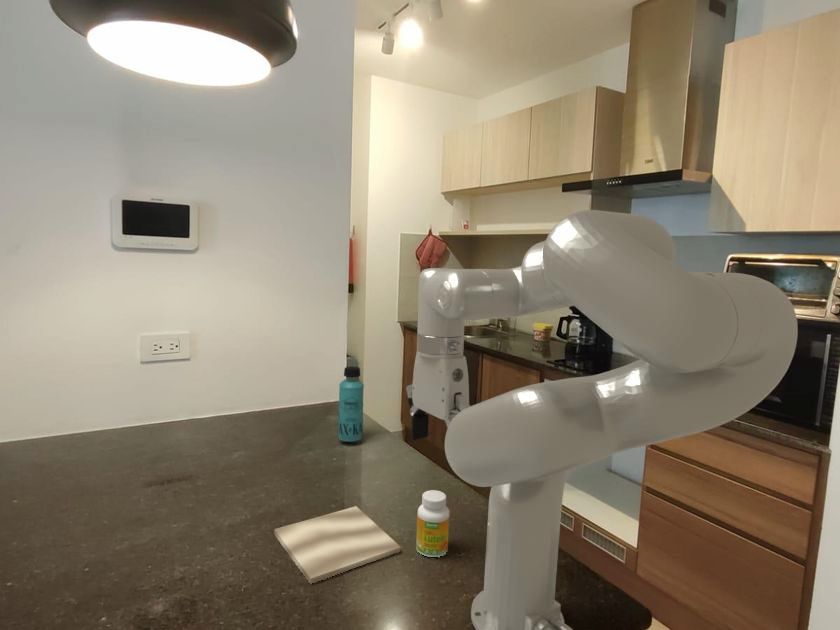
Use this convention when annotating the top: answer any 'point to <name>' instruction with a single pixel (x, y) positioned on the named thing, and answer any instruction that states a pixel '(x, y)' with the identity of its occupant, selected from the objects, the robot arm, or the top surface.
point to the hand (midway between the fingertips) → (436, 447)
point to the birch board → (335, 543)
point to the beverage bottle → (350, 406)
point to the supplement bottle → (432, 524)
